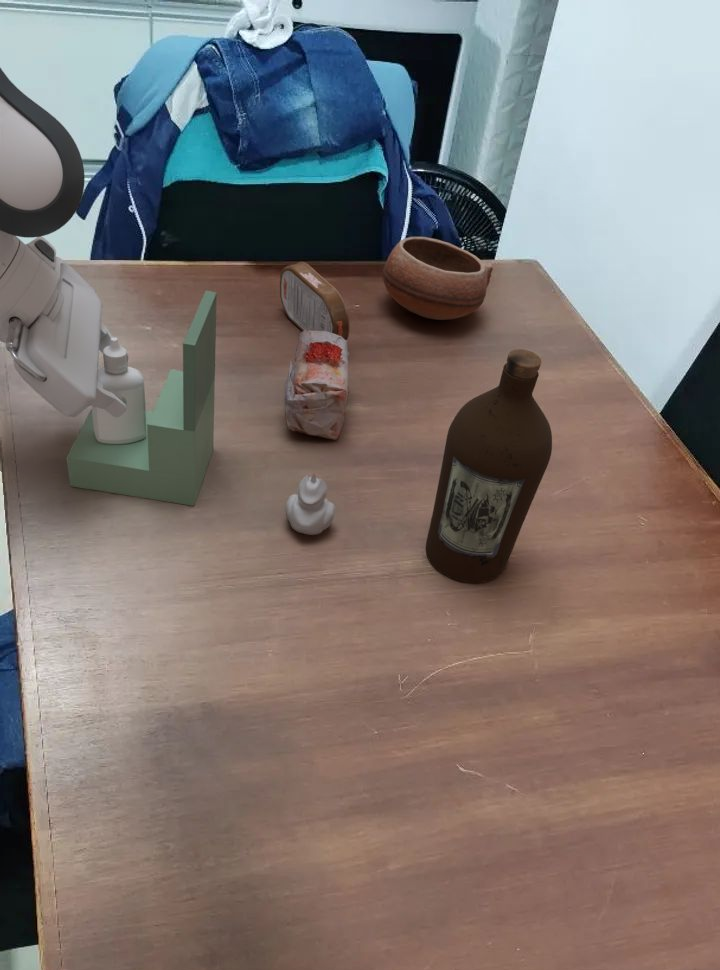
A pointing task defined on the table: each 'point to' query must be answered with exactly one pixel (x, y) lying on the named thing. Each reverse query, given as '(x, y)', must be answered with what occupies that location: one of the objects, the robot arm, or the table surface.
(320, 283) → the tin
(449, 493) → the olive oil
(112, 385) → the eye dropper bottle
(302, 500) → the rubber duck
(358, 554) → the table surface
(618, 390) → the table surface
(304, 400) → the food item
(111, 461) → the step shelf
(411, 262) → the bowl
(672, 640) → the table surface
